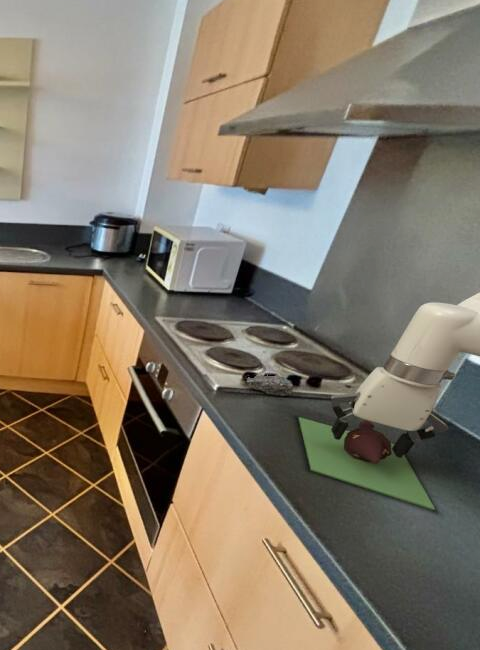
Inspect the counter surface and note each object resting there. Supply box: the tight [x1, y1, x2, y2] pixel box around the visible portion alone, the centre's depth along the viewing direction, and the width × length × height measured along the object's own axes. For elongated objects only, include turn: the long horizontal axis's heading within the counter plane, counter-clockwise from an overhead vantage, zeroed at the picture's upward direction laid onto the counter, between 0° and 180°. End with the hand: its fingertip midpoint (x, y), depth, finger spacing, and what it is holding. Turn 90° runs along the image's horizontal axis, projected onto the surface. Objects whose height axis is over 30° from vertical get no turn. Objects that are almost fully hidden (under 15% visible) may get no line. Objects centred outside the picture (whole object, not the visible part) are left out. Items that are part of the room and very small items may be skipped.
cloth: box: [298, 416, 436, 511], centre depth 85 cm, size 18×22×1 cm
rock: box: [245, 373, 294, 397], centre depth 109 cm, size 8×10×4 cm
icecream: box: [344, 420, 392, 464], centre depth 83 cm, size 7×7×15 cm
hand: (365, 444), depth 84 cm, fingers open, 9 cm apart
